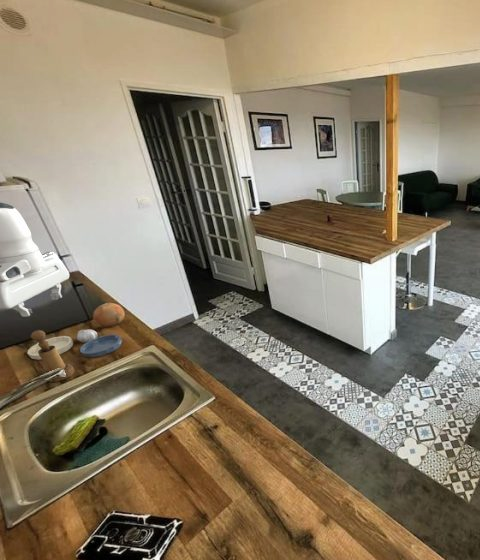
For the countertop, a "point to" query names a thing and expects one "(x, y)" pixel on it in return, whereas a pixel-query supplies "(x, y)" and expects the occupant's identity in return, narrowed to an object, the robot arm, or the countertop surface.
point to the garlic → (86, 335)
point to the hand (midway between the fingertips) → (43, 306)
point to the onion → (108, 314)
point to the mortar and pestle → (51, 356)
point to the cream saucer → (59, 342)
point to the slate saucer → (101, 346)
